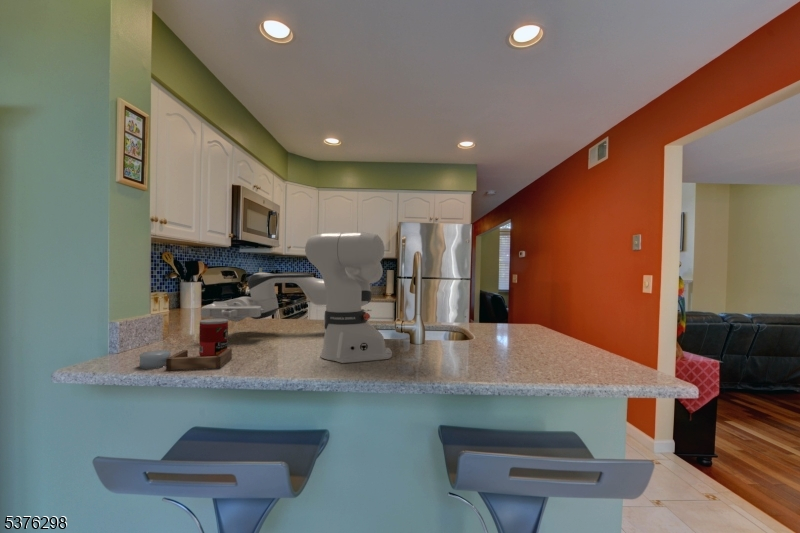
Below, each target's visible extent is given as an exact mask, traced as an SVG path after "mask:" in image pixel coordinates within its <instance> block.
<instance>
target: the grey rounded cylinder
mask: <svg viewBox="0 0 800 533" xmlns="http://www.w3.org/2000/svg"><path fill="white" fill-rule="evenodd" d="M169 357H171V350H167V349H166V350H164V349H161V350H159V349H158V350H151V351H150V350H149V351H146V352H143V353H140V354H139V369H142V370H152V369H151V368H154V369H159V368H158V367H160V368H164V367H163V366H165V367H166V359H167V358H169Z"/></svg>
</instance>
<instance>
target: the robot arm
mask: <svg viewBox="0 0 800 533" xmlns="http://www.w3.org/2000/svg"><path fill="white" fill-rule="evenodd" d="M304 247H305V248H304V249H305V250H304V252H305V256H306V258H307V261H309V263H311V265H313V266H314V267H315V268H316V269H317V270H318V272H319V273H320V276H321V278H317V277H314V275H313V274H311V273H306V272H305V273H298V272H295V273H293V272H291V273H288V272H287V273H280V272H279V273H270V272H255V273H254V274H251V275H250V276H249V279H248V280H247V282H246V283H247V287H248V290H249V293H250V296H240V297H236V298H233V299H232V298H230V299H228V300H217V301H213V302H212V303H210V304H206V305H204V306H202V307H201V308H200V317H201V318H205V319H210V318H211V319H227V320H228V321H231V322H233V323H234V322H235V323H236V322H237V323H238V322H241V321H243V320H245V319H247V318H251V319H253V320H262V319H266V318H268V317H271V316H273V315H275V314H276V313H277V312H278V310H279V308H280V307H279V302H278V298H277V294H276V293H277V292H276V288H275V285H276V284H283V283H286V284H287V283H289V284H290V283H293V284H296V285H297V286H298V287H299V288H300V289H301V291H303V294H304V295H305V297H306V298H307V299H308V300H309V301H310V303H312V304H313V305H316V306H325V311H324V315H323V326H324V338H323V344H322V348H321V352H320V355H319V356H320V358H322V359H324V360H328V361H335V362H338V363H340V364H341V363H342V364H345V363H359V362H369V361H381V360H382V361H383V360H389V359H391V358H392V357H393V352H392V349H390V348H389V347H387V346H386V342H385V338H384V335H383V334H382V333H381V332H380V331H379V330H378V329H376V328H375V327H374V326H373V325H371V324H370V323H369V322H368V321H369V320H370V319H371V315H370V313H368V312H366V311H364V310H362V307H363V306H367V304H369V303H370V302H371V300H372V292H371V284H375V283H377V282H379V281H380V279H381V278H382V277H383V274H384V272H383V271H384V270H383V269H384V268H383V266H382V263H381V262H382V260H383V259H384V255H385V244H384V242H383V239H382V238H381V236H379V234H376V233H370V232H364V231H355V232H354V231H352V232H351V231H350V232H343V231H342V232H337V231H336V232H335V231H334V232H322V233H317V234H313V235H311V236H310V237H309V238H308V239H307V241H306V243H305V246H304Z"/></svg>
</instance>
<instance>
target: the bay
mask: <svg viewBox="0 0 800 533" xmlns="http://www.w3.org/2000/svg"><path fill="white" fill-rule="evenodd" d="M232 350H233V348H228V349H227V350H225V351H224V352H222V353H221V354H220V355H218V356H209V357H200V356H188V353H189V351H188V349H182V350H181V351H179V352H177V353H175V354H173V355H170V357H169V358H167V359H166V366H165V370H166V371H175V370H174V369H186V370H205V369H204V368H212V369H221V368H222V367H223V366H224V365H226V364H227V363H228V362H230V361H231V360H232V357H233V351H232Z"/></svg>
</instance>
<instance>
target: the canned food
mask: <svg viewBox="0 0 800 533" xmlns="http://www.w3.org/2000/svg"><path fill="white" fill-rule="evenodd" d="M198 333H199V340H198V342H199V347H198V348H199V350H198V354H199V357H209V356H218V355H220V354H221V353H222V352H224V351H225V350H227V349H229V347H228V346H229V343H228V342H229V339H228V338H229V320H227V319H214V318H205V319H201V320H200V321H199V332H198Z"/></svg>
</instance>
